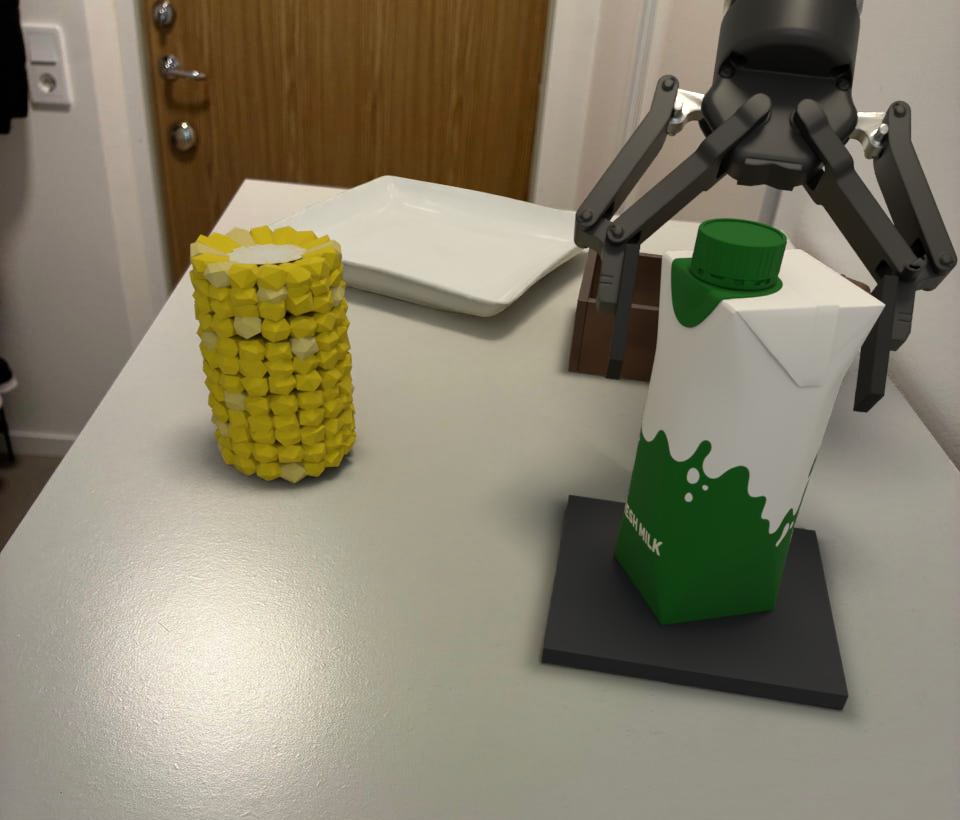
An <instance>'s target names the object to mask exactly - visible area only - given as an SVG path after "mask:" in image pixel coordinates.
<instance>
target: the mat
mask: <svg viewBox="0 0 960 820" xmlns="http://www.w3.org/2000/svg"><path fill="white" fill-rule="evenodd" d="M566 504H567V505H566V510H565V517H564V522H563V528H562V534H561V535H562V536H561V539H560V547H559V551H558V557H557V564H556V570H555V576H554V582H553V588H552V594H551V600H550V606H549V612H548V619H547V623H546V630H545V636H544V642H543V648H542V654H541V662H542V663H547V664H554V665H560V666H566V667H571V668H572V667H573V668H578V669H585V670H590V671H598V672H604V673H610V674H615V675H623V676H629V677H634V678H635V677H636V678H640V679H641V678H642V679H647V680H654V681H661V682H667V683H674V684H679V685H686V686H693V687H698V688H705V689H712V690H717V691H723V692H731V693H735V694H736V693H737V694H744V695H749V696H755V697H761V698H768V699H774V700H780V701H787V702H793V703H798V704H799V703H800V704H805V705H812V706H818V707H819V706H820V707H824V708H829V709H830V708H831V709H837V710H844V708H845V706H846V703H847V701H848V699H849V692H848V686H847V681H846V675H845V671H844V667H843V662H842V656H841V651H840V646H839V642H838V637H837V631H836V626H835V622H834V617H833V612H832V607H831V601H830V597H829V592H828V587H827V582H826V581H827V580H826V576H825V572H824V571H825V570H824V566H823V562H822V556H821V551H820V546H819V541H818V536H817V531H816V530H814V529H807V528H800V527H795V526H794V529H793V533H792V537H791V541H790V545H789V549H788V553H787V557H786V561H785V566H784V570H783V574H782V578H781V582H780V586H779V590H778V594H777V598H776V602H775V606H774V610H770V611H763V612H756V613H748V614H741V615H734V616H726V617H719V618H712V619H705V620H697V621H690V622H683V623H675V624H668V625H661V624H660V622H659V621H658V619H657V618H656V616H655V615H654V614H653V612H652V611H651V609H650V608H649V606H648V605H647V603H646V602H645V600H644V599H643V597H642V596H641V594H640V593H639V591H638V590H637V588H636V587H635V585H634V584H633V582H632V581H631V579H630V578H629V576H628V575H627V574H626V572H625V571H624V569H623V568H622V566H621V565H620V563H619V562H618V560H617V559H616V557H615V556H614V551H615V547H616V542H617V538H618V534H619V530H620V526H621V521H622V517H623V513H624V509H625V505H626V502H622V501H615V500H610V499H601V498H595V497H588V496H582V495H575V494H568V500H567V503H566Z"/></svg>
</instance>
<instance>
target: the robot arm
mask: <svg viewBox="0 0 960 820" xmlns="http://www.w3.org/2000/svg"><path fill="white" fill-rule="evenodd" d="M723 1H724V2H723V9H722V17H723V18H722V21H721V22H720V28H719V34H718V41H717V48H716V56H715V63H714V68H713V69H714V70H713V75H712V83H711V86H710V88H709V89H708V90H707V91H706V93H705V94H704V93H699V92H696V91H691V90H687V89H683V88H680V81H679V80H678V79H679V78H677V77H676V76H675V75H673V74H665V75H662V76H661V77H659V79H658V80H657V83H656V85H655V90H654V93H653V96H652V101H651V104H650V108H649V111H648V112H647V113H646V115H645V116H644V117H643V119H642V120H641V122H640V123H639V124H638V126H637V127H636V129H635V130H634V131H633V132H632V134H631V135H630V137H629V138H628V140H627V141H626V142H625V144H624V145H623V147H622V148H621V149H620V151H619V152H618V153H617V154H616V156H615V158H613V160H612V161H611V163H610V164H609V166H608V167H607V168H606V170H605V171H604V173H603V174H602V175H601V176H600V178H599V180H598V181H597V182H596V184H595V185H594V186H593V188H592V189H591V191H590V192H589V194H588V195H587V196H586V197H585V199H584V200H583V201H582V203H581V204H580V206H579V207H578V208H577V210H576V211H575V214H576V215H575V226H574V243H575V245H576V246H577V247H579V248H582V249H583V250H587V249H589V248H590V249H592V250H594V251H596V252H597V253H598V254H599V255H600V257H601V260H602V265H601V271H600V278H599V284H598V291H597V298H596V308H597V312H598V313H600V314H608V315H615V318H614V324H613V331H612V338H611V344H610V351H609V358H608V365H607V371H606V376H605V379H607V380H616V381H619V380H620V378H619V377H620V373H621V369H622V365H623V360H624V353H625V347H626V340H627V333H628V326H629V320H630V313H631V306H632V299H633V293H634V286H635V279H636V272H637V266H638V259H639V252H640V251H641V245H642V244H644V242H646V241H647V240H648V239H649V238H650V237H652V236H653V235H654V234H655V233H656V232H658V230H660V229H661V228H662V227H664V225H666V224H667V222H669V221H670V220H671V219H672V218H674V217H675V216H676V215H677V214H678V213H679V212H681V211H682V210H683V209H684V208H685V207H687V205H689V204H690V203H691V202H692V201H694V200H695V199H696V198H697V197H698V196H700V194H702V193H703V192H705V193H706V192H708V191H710V190H711V189H712V188H713V187H714V186H715V185H717V183H719V182H720V181H721V180H722V179H724V177H726V176H727V175H728V176H729V177H730V178H731V179H734V180H736V186H744V187H757V186H763V185H765V186H768V187H770V188H772V189H776V190H778V191H779V190H780V191H785V192H788V191H789V192H793V190H794V188H796V187H800V186H802V188H803V189H804V190H805V192H806V193H807V194H808V196H809V197H810V199H811V200H812V202H813V203H814V204H815V205H816V206H821V207H822V208H823V209H824V210H825V212H826V213H827V215H828V216H829V217H830V219H831V220H832V221H833V223H834V225H835V226H836V227H837V229H838V230H839V231H840V233H841V235H842V236H843V237H844V238H845V240H846V242H847V243H848V244H849V246H850V248H851V249H852V250H853V252H854V253H855V254H856V256H857V258H859V260H860V261H861V263H862V265H863V266H864V268H866V270H867V271H868V273H869V275H870V276H871V277H872V279H873V280H874V281H875V283H876V286H875V287H874V288H873V289H872V291H871V293H870V295H872V296H873V297H875V298H876V299H878V300H879V301H881V302H882V303H884V304H885V307H884V309H883V310H882V312H881V314H880V315H879V317H878V319H877V321H876V322H875V324H874V326H873V327H872V329H871V331H870V332H869V334H868V336H867V338H866V339H865V341H864V343H863V344H862V346H861V348H860V350H859V351H860V352H859V360H858V368H857V375H856V382H855V383H856V384H855V390H854V391H855V392H854V398H853V399H854V401H853V406H852V407H853V408H852V411H853V412H858V413H865V414H867V413H868V412H869V411H871V409H873V408H874V407H875V405H876V404H878V403H879V402H880V401H881V400H882V399H883V398H884V397H885V395H886V385H887V378H888V370H889V362H890V354H891V352H897V351H898V350H900V348H901V347H902V346H903V345H904V344H905V343H906V342H907V340H908V339H909V336H910V334H911V333H912V326H913V323H912V322H913V318H914V310H915V309H914V308H915V301H916V292H918V291H924V292H933V291H934V290H936V289H937V288H938V287H939V286H940V285H941V283H942V282H943V281H944V280H945V279H946V278H947V277H948V275H949V274H950V273H951V272H952V271H953V270H954V269H955V267H956V266H957V264H958V261H959V260H958V256H957V253H956V251H955V247H954V245H953V242H952V240H951V238H950V235H949V233H948V230H947V227H946V224H945V222H944V220H943V217H942V214H941V212H940V210H939V208H938V204H937V202H936V199H935V197H934V195H933V193H932V192H933V191H932V189H931V187H930V184H929V182H928V180H927V177H926V174H925V171H924V169H923V167H922V163H921V161H920V159H919V156H918V154H917V152H916V149H915V146H914V144H913V142H912V108H911V106H910V105H909V103H908V102H906V101H904V100H896V101H894V102H891V103H890V105H889V107H888V108H887V110H886V111H858V109H857V107H856V105H855V102H854V99H853V85H854V78H855V69H856V61H857V53H858V45H859V40H860V39H859V38H860V30H861V15H862V12H863V7H864V0H723ZM690 122H697V123H698V127H699V129H700V131H701V133H702V134H703V136H704V139H703V140H702V141H701V142H700V144H699V145H698V147H697V148H696V150H695V151H694V152H693V153H691V154H690V155H689V156H688V157H686V158H685V159H684V160H683V161H682V162H681V163H680V164H678V165H677V166H676V167H675V168H674V169H673V170H672V171H670V172H669V173H668V174H667V175H666V176H664V177H663V178H662V179H661V180H660V181H658V182H657V183H656V184H655V185H654V186H653V187H651V188H650V189H649V190H647V192H645V193H644V194H643V195H642V196H641V197H640V198H639V199H637V200H636V201H635V202H634V203H633V204H631V205H630V206H629V207H628V208H626V210H625V211H624V212H622V213H621V214H620V215H618V217H617V218H615V219H613V221H612V218H613V217H614V216H615V215H616V214H617V212H618V211H619V209H620V208H621V206H622V205H623V204H624V202H625V201H626V199H627V198H628V196H629V195H630V194H631V192H632V191H633V190H634V188H635V187H636V186H637V185H638V183H639V181H640V180H641V179H642V178H643V176H644V174H645V173H646V172H647V170H648V169H649V168H650V167H651V165H652V164H653V162H654V161H655V159H656V158H657V157H658V155H659V153H660V152H661V150H662V149H663V147H664V145H665V142H666V140H667V137H668V136H669V137H675V136H676V135H677V134H679V133H680V132H682V131H683V129H684V128H685V126H686V125H687V124H688V123H690ZM850 140H856V141H857V142H859V143H860V145H861V147H862V150H863V156H864V158H865V159H867V160H872V165H873V171H874V175H875V179H876V182H877V184H878V188H879V190H880V193H881V194H882V195H881V196H882V197H883V200H884V203H885V206H886V208H887V210H888V213H889V216H890V217H889V216H888V214H887V213H886V211H885V210H884V209H883V207H882V206H881V204H879V202H878V200H877V199H876V197H875V196H874V194H872V191H870V189H869V188H868V186H867V185H866V184H865V182H864V181H863V179H862V178H861V176H860V174H859V173H857V171H856V169H855V161H854V158H853V155H852V154H851V152H850V151H849V150H848V148H847V147H846V145H847V144H848V142H849V141H850ZM823 168H824V169H823ZM890 218H891V219H890Z"/></svg>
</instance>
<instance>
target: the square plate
mask: <svg viewBox="0 0 960 820" xmlns="http://www.w3.org/2000/svg"><path fill="white" fill-rule="evenodd" d="M575 215H576V213H572V212H569V211H568V212H567V211H564V210H560V209H556V208H552V207H548V206H545V205H541V204H538V203H537V204H536V203H533V202H528V201H524V200H520V199H516V198H511V197H507V196H503V195H497V194H493V193H489V192H484V191H478V190H474V189H467V188H463V187H457V186H453V185H446V184H441V183H436V182H429V181H423V180H417V179H412V178H406V177H403V176H401V177H400V176H396V175H388V174H387V175H382V176H380V177H379V176H378V177H376V178H374V179H372V180H370V181H366V182H364V183H362V184H359V185H357V186H354V187H351V188H348V189H347V190H345V191H342V192H340V193H337V194H335V195H332V196H330V197H328V198H326V199H323V200H321V201H319V202H316V203H314V204H312V205H310V206H308V207H305V208H303V209H301V210H299V211H297V212H295V213H292V214H290V215H288V216H286V217H283V218H282V219H279V220H277V221H275V222H274V223H273V222H272V223H271V224H269V225H267V226H268V227H269V228H270V229H271V230H272V232H274V229H278V228H282V227H286V226H290V227H291V228H293V229H294V230H296V231H297V232H298V231H313V232H314V233H315V235H316V236H317V237H318V238H320V237H323V236H325V235H327V234H328V236H329V238H330V240H333V239H334V240H335V241H336V242H338V243H339V244H340V245H341V252H342V260H341V262H342V264H343V265H344V267H343V281H344V282H346V283H347V284H346V287H350V288H354V289H358V290H362V291H365V292H370V293H374V294H378V295H381V296H385V297H389V298H393V299H396V300H400V301H405V302H408V303H412V304H415V305H419V306H423V307H427V308H430V309H436V310H439V311H445V312H449V313H450V312H451V313H458V314H459V313H460V314H466V315H471V316H477V317H481V318H488V317H492V316H495V315H497V314H499V313H501V312H503V311H504V310H505V309H507V308H509V306H511V305H512V304H514V303H515V302H516V301H517V300H518V299H519V298H520V297H521V296H523V294H525V293H526V292H527V291H528V290H529V289H530V288H531V287H532V286H534V285H535V284H536V283H537V282H539V281H540V280H542V279H543V278H544V277H546V276H547V275H548V274H550V273H551V272H553V271H554V270H555V269H557V268H558V267H560V266H561V265H563V264H564V263H566V262H568V261H569V260H571V259H572V258H573V257H575V256H577V255H578V254H580V253H581V252H582V251H583V250H584V249H582V248H579V247H577V246H576V245H575V243H574V226H575Z"/></svg>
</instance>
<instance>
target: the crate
mask: <svg viewBox="0 0 960 820" xmlns="http://www.w3.org/2000/svg"><path fill="white" fill-rule="evenodd" d="M662 255H663V254H656V253H649V252H639V259H638V266H637V272H636V279H635V286H634V293H633V299H632V306H631V313H630V320H629V326H628V333H627V340H626V347H625V353H624V360H623V365H622V369H621V373H620V377H619V379H624V380H630V381H631V380H632V381H638V382H645V383H650V380H651V375H652V369H653V364H654V359H655V353H656V346H657V336H658V321H659V304H660V287H661V270H662ZM601 265H602V260H601V257H600V255H599V254H598V253H597V252H596V251H594V250H592V249H590V248H588V251H587V256H586V261H585V265H584V268H583V274H582V278H581V284H580V288H579V293H578V297H577V300H576V301H577V302H576V308H575V309H576V310H575V315H574V316H575V317H574V325H573V331H572V336H571V337H572V338H571V345H570V352H569V358H568V367H567V368H568V369H567V371H568V372H574V373H579V374H588V375H594V376H602V377H606V371H607V365H608V358H609V351H610V344H611V338H612V331H613V324H614V318H615V315H608V314H600V313H598V312H597V308H596V298H597V291H598V284H599V278H600V271H601Z"/></svg>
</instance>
